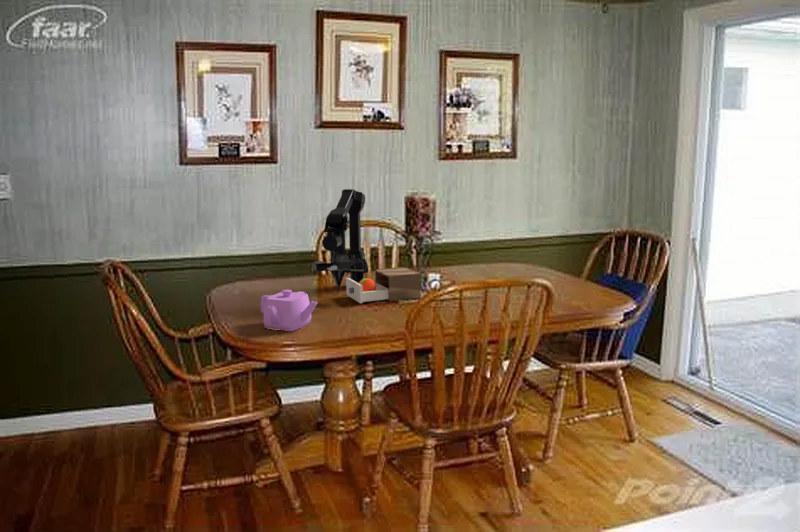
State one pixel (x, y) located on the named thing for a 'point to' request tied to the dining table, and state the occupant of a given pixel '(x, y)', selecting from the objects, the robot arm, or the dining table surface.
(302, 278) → the dining table surface
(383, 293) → the drawer
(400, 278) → the small brown cabinet
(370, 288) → the clementine
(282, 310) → the teakettle
